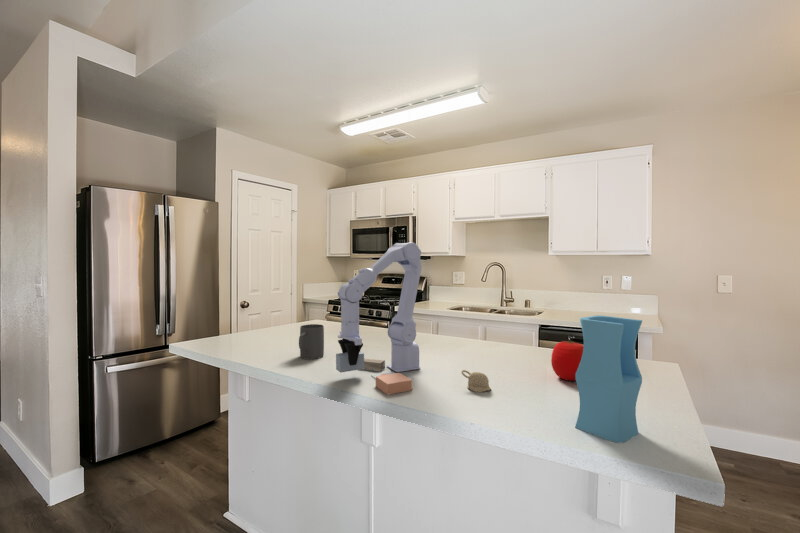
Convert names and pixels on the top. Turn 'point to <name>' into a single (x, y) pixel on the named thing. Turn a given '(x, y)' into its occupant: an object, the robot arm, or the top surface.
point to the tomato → (566, 359)
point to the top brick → (343, 362)
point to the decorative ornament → (477, 381)
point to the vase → (609, 378)
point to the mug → (311, 341)
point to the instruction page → (382, 374)
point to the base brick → (393, 383)
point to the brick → (374, 364)
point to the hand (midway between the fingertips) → (350, 363)
